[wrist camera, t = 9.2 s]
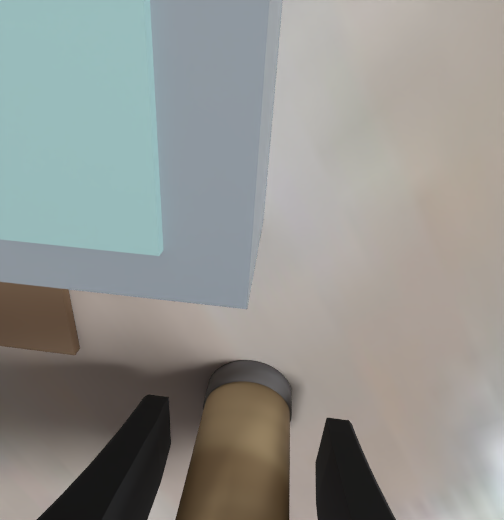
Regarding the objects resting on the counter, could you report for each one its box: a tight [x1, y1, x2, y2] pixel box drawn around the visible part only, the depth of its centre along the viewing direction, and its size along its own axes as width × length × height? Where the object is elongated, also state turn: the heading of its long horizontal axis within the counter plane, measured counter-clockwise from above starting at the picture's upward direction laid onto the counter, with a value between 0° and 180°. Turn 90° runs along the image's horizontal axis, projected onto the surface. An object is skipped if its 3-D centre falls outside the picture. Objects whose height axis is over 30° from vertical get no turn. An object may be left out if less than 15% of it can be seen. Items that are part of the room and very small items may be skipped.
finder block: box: [0, 0, 283, 309], centre depth 6 cm, size 8×5×4 cm, turn 176°
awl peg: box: [176, 361, 292, 520], centre depth 9 cm, size 3×3×6 cm
